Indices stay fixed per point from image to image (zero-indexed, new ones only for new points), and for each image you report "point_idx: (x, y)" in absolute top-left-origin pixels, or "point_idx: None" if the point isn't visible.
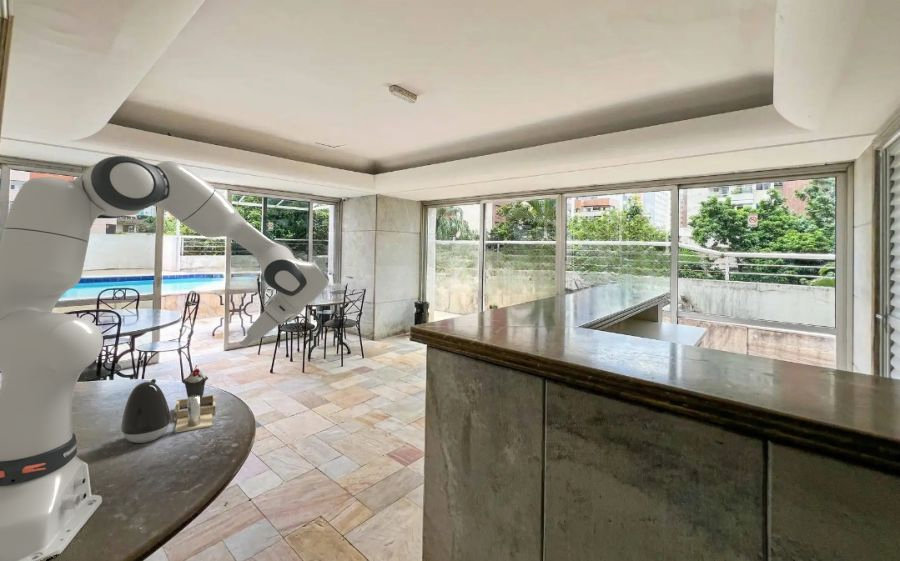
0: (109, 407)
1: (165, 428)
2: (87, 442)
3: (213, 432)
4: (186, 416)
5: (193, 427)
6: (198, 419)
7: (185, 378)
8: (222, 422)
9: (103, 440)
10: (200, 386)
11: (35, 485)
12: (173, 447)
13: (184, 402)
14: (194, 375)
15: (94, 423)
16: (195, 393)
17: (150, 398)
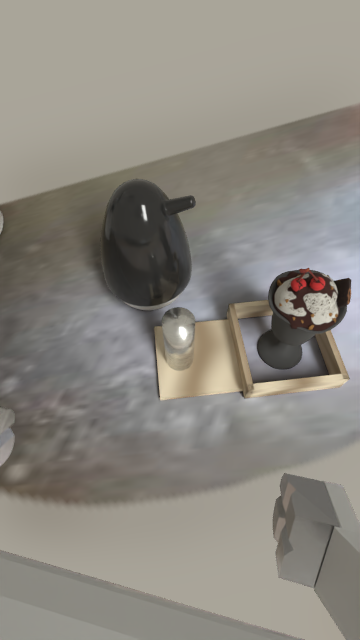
0: (334, 201)
1: (132, 305)
2: None
3: (122, 409)
4: (231, 334)
5: (158, 359)
6: (170, 362)
7: (319, 272)
8: (179, 424)
9: None
10: (284, 324)
11: None
12: (80, 339)
13: None
14: (292, 287)
15: (256, 203)
16: (273, 323)
17: (106, 228)
